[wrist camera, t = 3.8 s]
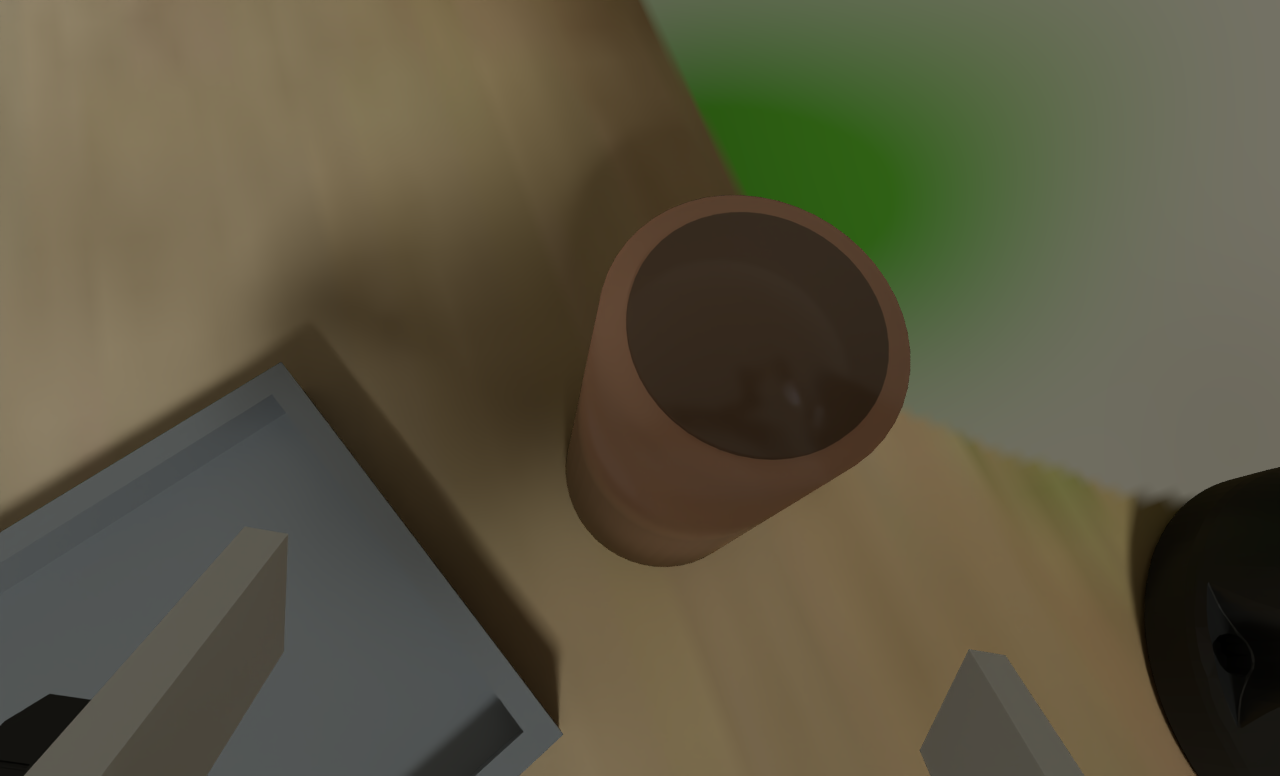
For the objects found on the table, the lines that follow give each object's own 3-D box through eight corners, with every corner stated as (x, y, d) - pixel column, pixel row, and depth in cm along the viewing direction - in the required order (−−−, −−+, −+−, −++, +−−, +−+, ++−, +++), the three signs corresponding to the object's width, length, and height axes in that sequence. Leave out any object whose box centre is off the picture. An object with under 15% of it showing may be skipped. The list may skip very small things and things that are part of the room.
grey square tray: (558, 728, 23) (563, 734, 21) (-25, 1267, 17) (-108, 1358, 15) (302, 389, 26) (281, 361, 24) (-281, 754, 20) (-385, 765, 18)
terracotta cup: (789, 484, 27) (976, 356, 16) (651, 609, 25) (758, 560, 14) (668, 348, 29) (763, 142, 18) (525, 455, 26) (530, 294, 15)
